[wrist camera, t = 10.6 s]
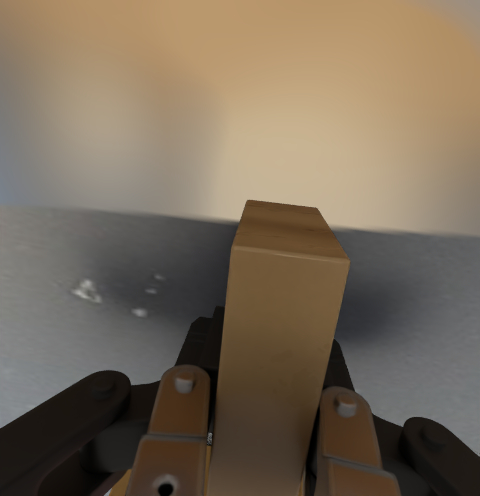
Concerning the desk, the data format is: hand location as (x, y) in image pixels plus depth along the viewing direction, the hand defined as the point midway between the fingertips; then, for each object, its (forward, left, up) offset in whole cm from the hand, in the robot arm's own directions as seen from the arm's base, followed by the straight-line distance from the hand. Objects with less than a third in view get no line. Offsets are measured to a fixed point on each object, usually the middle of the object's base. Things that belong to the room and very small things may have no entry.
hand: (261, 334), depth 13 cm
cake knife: (+5, 0, 0) cm, 5 cm away
